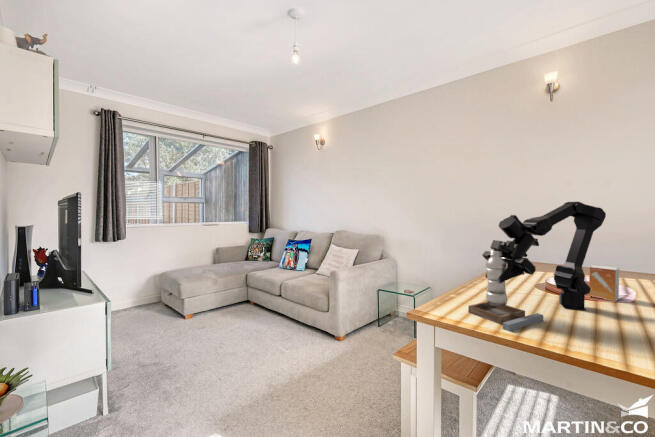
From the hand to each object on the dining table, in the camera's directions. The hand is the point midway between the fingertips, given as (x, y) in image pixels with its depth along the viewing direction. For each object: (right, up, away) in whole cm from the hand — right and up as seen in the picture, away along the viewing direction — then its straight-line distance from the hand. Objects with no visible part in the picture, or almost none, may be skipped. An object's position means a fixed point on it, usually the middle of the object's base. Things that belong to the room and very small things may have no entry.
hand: (492, 279), depth 102 cm
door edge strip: (+5, -13, -8) cm, 16 cm away
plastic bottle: (+2, -10, +1) cm, 10 cm away
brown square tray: (+1, -13, +1) cm, 13 cm away
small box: (+56, -12, +17) cm, 59 cm away
